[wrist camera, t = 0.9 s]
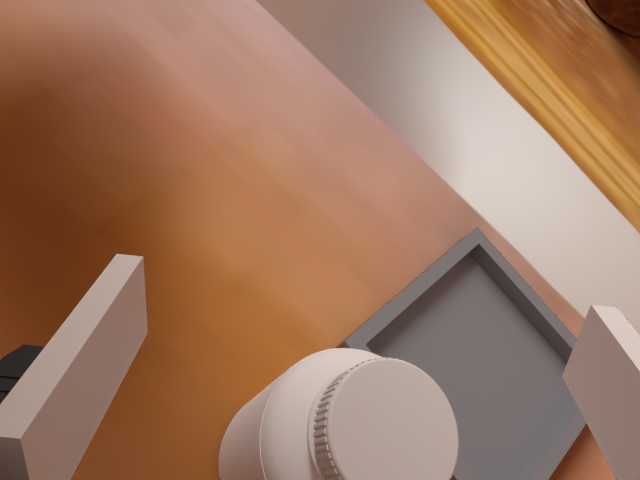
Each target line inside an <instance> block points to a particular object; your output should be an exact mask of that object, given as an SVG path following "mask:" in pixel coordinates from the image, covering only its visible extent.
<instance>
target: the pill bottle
mask: <svg viewBox="0 0 640 480" xmlns="http://www.w3.org/2000/svg"><path fill="white" fill-rule="evenodd" d="M458 450H459V437H458V428H457V423H456V419H455V416H454V413H453V410H452V408H451V405H450V403H449V401H448V399H447V397H446V396H445V394H444V393H443V391H442V390H441V388H440V387H439V386H438V385H437V383H436V382H435V381H434V380H433V379H432V378H431V377H430V376H429V375H428V374H426V373H425V372H424V371H423V370H421V369H420V368H418V367H417V366H415V365H412V364H411V363H409V362H405V361H404V360H399V359H396V358H395V359H393V358H386V357H381V356H379V355H376V354H374V353H371V352H368V351H364V350H359V349H351V348H334V349H327V350H323V351H320V352H317V353H314V354H312V355H310V356H307V357H306V358H304V359H302V360H300V361H299V362H297V363H296V364H294V365H293V366H292V367H290V368H289V369H288V370H287V371H286V372H284V373H283V374H282V375H281V376H280V377H278V378H277V379H276V380H275V381H273V382H272V383H271V384H270V385H269V386H267V387H266V388H265V389H264V390H263V391H261V392H260V393H259V394H258V395H257V396H255V397H254V398H253V399H252V400H250V401H249V402H248V403H247V404H246V405H245V406H243V407H242V408H241V409H240V410H239V412H238V413H237V414H236V415H235V416H234V418H233V419H232V421H231V422H230V424H229V426H228V428H227V430H226V432H225V434H224V437H223V440H222V443H221V447H220V452H219V462H218V468H219V478H220V480H450V479H451V478H452V476H453V473H454V471H455V467H456V463H457V458H458Z"/></svg>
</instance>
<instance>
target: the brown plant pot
mask: <svg viewBox="0 0 640 480" xmlns="http://www.w3.org/2000/svg"><path fill="white" fill-rule="evenodd" d="M587 2H588V4H589V5H590V7H591V8H592V9H593V11H594V12H595V13H596V14H597V15H598V16H599V17H600V18H601V19H602V20H604V21H605V22H606V23H607V24H609V25H610V26H612V27H613V28H615V29H617V30H619V31H621V32H624V33H626V34H629V35H631V36H635V37H640V0H587Z"/></svg>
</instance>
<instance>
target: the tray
mask: <svg viewBox="0 0 640 480" xmlns="http://www.w3.org/2000/svg"><path fill="white" fill-rule="evenodd" d="M576 340H577V339H576V338H575V336H574V335H573V334H572V333H571V332H570V331H569V330H568V328H567V327H566V326H565V325H564V324H563V323H562V322H561V321H560V319H559V318H558V317H557V316H556V315H555V314H554V313H553V312H552V310H551V309H550V308H549V307H548V306H547V305H546V304H545V303H544V301H543V300H542V299H541V298H540V297H539V296H538V295H537V294H536V292H535V291H534V290H533V289H532V288H531V287H530V286H529V285H528V283H527V282H526V281H525V280H524V279H523V278H522V277H521V276H520V274H519V273H518V272H517V271H516V270H515V269H514V268H513V267H512V265H511V264H510V263H509V262H508V261H507V260H506V259H505V258H504V256H503V255H502V254H501V253H500V252H499V251H498V250H497V249H496V247H495V246H494V245H493V244H492V243H491V242H490V241H489V240H488V238H487V237H486V236H485V235H484V234H483V233H482V232H481V231H480V229H479V228H478V227H477V228H476V229H474V230H473V231H472V232H470V233H469V234H468V235H467V236H465V237H464V238H463V239H462V240H460V241H459V242H458V243H457V244H456V245H455V246H453V247H452V248H451V249H450V250H449V251H448V252H446V253H445V254H444V255H443V256H442V257H441V258H439V259H438V260H437V261H436V262H435V263H434V264H432V265H431V266H430V267H429V268H428V269H427V270H425V271H424V272H423V273H422V274H421V275H420V276H418V277H417V278H416V279H415V280H414V281H413V282H411V283H410V284H409V285H408V286H407V287H406V288H405V289H403V290H402V291H401V292H400V293H399V294H398V295H396V296H395V297H394V298H393V299H392V300H391V301H389V302H388V303H387V304H386V305H385V306H384V307H382V308H381V309H380V310H379V311H378V312H377V313H375V314H374V315H373V316H372V317H371V318H370V319H368V320H367V321H366V322H365V323H364V324H363V325H361V326H360V327H359V328H358V329H357V330H356V331H354V332H353V333H352V334H351V335H350V336H349V337H348V338H346V339H345V340H344V341H343V342H342V343H341V344H339V345H338V346H337V347H336V348H351V349H359V350H364V351H368V352H371V353H374V354H376V355H379V356H381V357H386V358H393V359H395V358H396V359H399V360H404V361H405V362H409V363H411V364H412V365H415V366H417V367H418V368H420V369H421V370H423V371H424V372H425V373H426V374H428V375H429V376H430V377H431V378H432V379H433V380H434V381H435V382H436V383H437V385H438V386H439V387H440V388H441V390H442V391H443V393H444V394H445V396H446V397H447V399H448V401H449V403H450V405H451V408H452V410H453V413H454V416H455V419H456V423H457V428H458V437H459V450H458V458H457V463H456V467H455V471H454V473H453V476H452V478H451V479H450V480H548V479H549V478H550V476H551V475H552V473H553V472H554V471H555V469H556V468H557V466H558V465H559V463H560V462H561V460H562V459H563V457H564V456H565V454H566V453H567V451H568V450H569V448H570V447H571V446H572V444H573V443H574V441H575V440H576V438H577V437H578V435H579V434H580V432H581V431H582V429H583V428H584V426H585V425H586V421H585V419H584V417H583V416H582V414H581V412H580V410H579V408H578V406H577V404H576V402H575V401H574V399H573V397H572V395H571V393H570V391H569V389H568V387H567V386H566V384H565V382H564V380H563V378H562V374H563V372H564V369H565V367H566V365H567V362H568V360H569V357H570V355H571V352H572V350H573V348H574V345H575V343H576Z"/></svg>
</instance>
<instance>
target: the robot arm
mask: <svg viewBox="0 0 640 480" xmlns="http://www.w3.org/2000/svg"><path fill="white" fill-rule="evenodd" d="M147 333H148V327H147V310H146V294H145V277H144V260H143V256H134V255H124V254H116V255H115V257H114V258H113V259H112V261H111V262H110V263H109V264H108V266H107V267H106V268H105V270H104V271H103V272H102V274H101V275H100V276H99V277H98V279H97V280H96V281H95V283H94V284H93V285H92V286H91V288H90V289H89V290H88V292H87V293H86V294H85V296H84V297H83V298H82V299H81V301H80V302H79V303H78V305H77V306H76V307H75V308H74V310H73V311H72V312H71V314H70V315H69V316H68V318H67V319H66V320H65V321H64V323H63V324H62V325H61V327H60V328H59V329H58V330H57V332H56V333H55V334H54V336H53V337H52V338H51V340H50V341H49V342H48V343H47V345H46V346H45V347H40V346H30V345H22V346H21V347H19V348H17V349H16V350H14V351H13V352H11V353H10V354H8V355H6V356H5V357H3V358H2V359H1V360H0V480H71V478H72V477H73V475H74V473H75V471H76V469H77V467H78V465H79V463H80V461H81V459H82V457H83V456H84V454H85V452H86V450H87V448H88V446H89V444H90V442H91V440H92V438H93V436H94V435H95V433H96V431H97V429H98V427H99V425H100V423H101V421H102V419H103V417H104V415H105V414H106V412H107V410H108V408H109V406H110V404H111V402H112V400H113V398H114V396H115V394H116V393H117V391H118V389H119V387H120V385H121V383H122V381H123V379H124V377H125V375H126V373H127V372H128V370H129V368H130V366H131V364H132V362H133V360H134V358H135V356H136V354H137V352H138V351H139V349H140V347H141V345H142V343H143V341H144V339H145V337H146V335H147ZM562 378H563V380H564V382H565V384H566V386H567V387H568V389H569V391H570V393H571V395H572V397H573V399H574V401H575V402H576V404H577V406H578V408H579V410H580V412H581V414H582V416H583V417H584V419H585V421H586V423H587V425H588V427H589V429H590V431H591V433H592V434H593V436H594V438H595V440H596V442H597V444H598V446H599V448H600V449H601V451H602V453H603V455H604V457H605V459H606V461H607V463H608V465H609V466H610V468H611V470H612V472H613V474H614V476H615V478H616V480H640V336H639V335H638V333H637V332H636V331H635V330H634V328H633V327H632V326H631V325H630V323H629V322H628V321H627V319H626V318H625V317H624V316H623V314H622V313H621V312H620V311H619V310H618V308H617V307H607V306H599V305H591V306H590V309H589V311H588V314H587V316H586V318H585V321H584V323H583V326H582V328H581V331H580V333H579V335H578V338H577V340H576V343H575V345H574V348H573V350H572V352H571V355H570V357H569V360H568V362H567V365H566V367H565V369H564V372H563V374H562Z"/></svg>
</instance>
